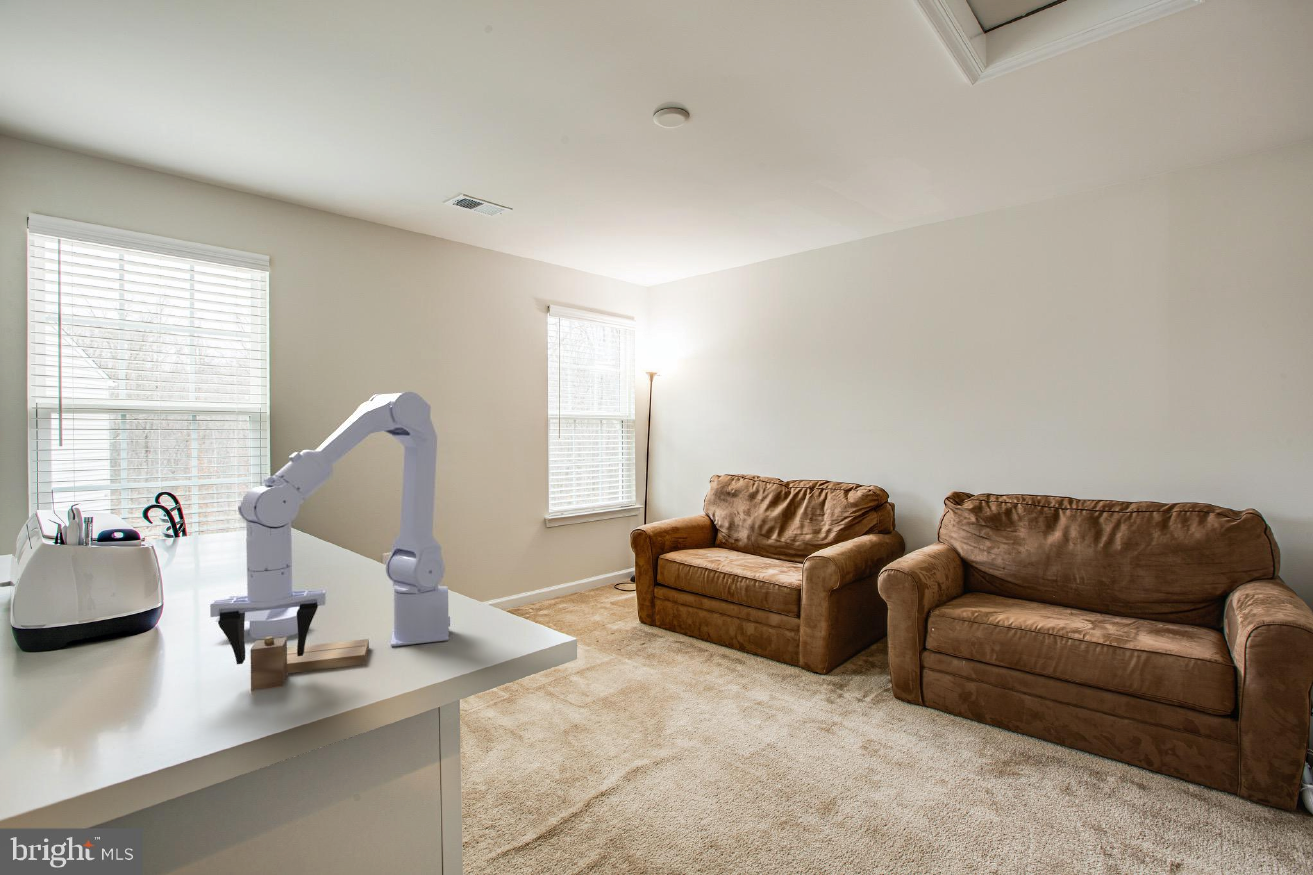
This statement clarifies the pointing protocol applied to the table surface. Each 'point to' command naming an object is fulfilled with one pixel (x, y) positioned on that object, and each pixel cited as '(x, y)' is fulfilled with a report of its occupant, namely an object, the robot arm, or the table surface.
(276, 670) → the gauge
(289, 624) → the wedge on round base
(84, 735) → the table surface
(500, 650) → the table surface
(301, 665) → the board
